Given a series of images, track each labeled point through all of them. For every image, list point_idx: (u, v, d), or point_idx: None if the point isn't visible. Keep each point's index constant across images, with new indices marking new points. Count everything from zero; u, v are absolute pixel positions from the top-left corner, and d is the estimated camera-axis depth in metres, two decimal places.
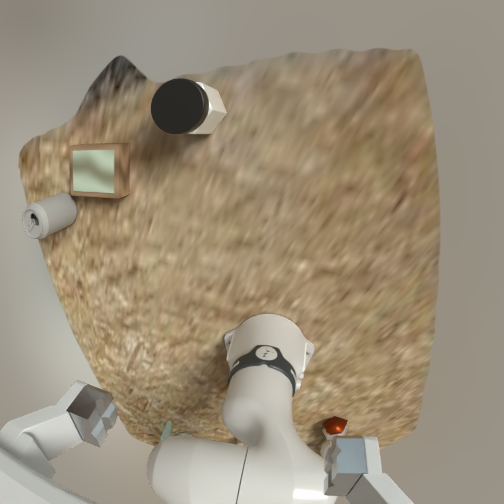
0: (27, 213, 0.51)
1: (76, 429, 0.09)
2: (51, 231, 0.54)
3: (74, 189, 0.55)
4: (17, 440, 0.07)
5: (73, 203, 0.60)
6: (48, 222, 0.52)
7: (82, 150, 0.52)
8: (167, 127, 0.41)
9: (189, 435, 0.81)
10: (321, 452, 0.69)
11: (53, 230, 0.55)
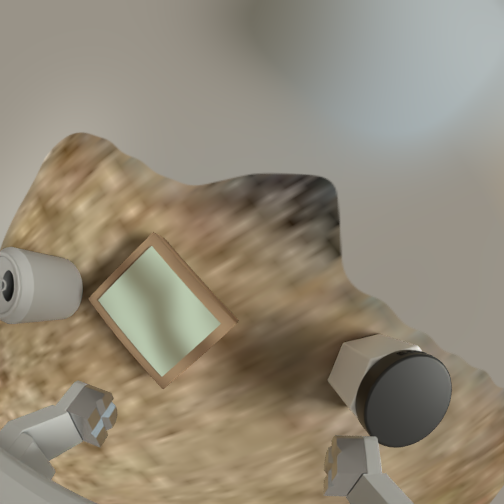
0: (4, 260, 0.23)
1: (76, 430, 0.09)
2: None
3: (101, 300, 0.30)
4: (17, 440, 0.07)
5: (78, 301, 0.33)
6: (25, 314, 0.24)
7: (168, 265, 0.30)
8: (374, 424, 0.20)
9: None
10: None
11: None
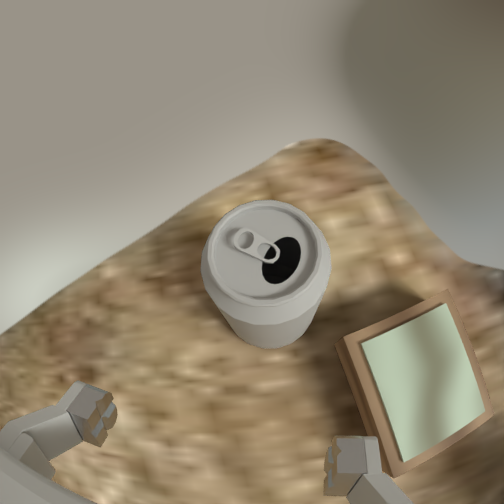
0: (286, 220, 0.18)
1: (76, 430, 0.09)
2: (245, 326, 0.18)
3: (366, 345, 0.21)
4: (17, 440, 0.07)
5: (302, 333, 0.25)
6: (290, 318, 0.17)
7: (457, 331, 0.21)
8: None
9: None
10: None
11: (246, 328, 0.19)
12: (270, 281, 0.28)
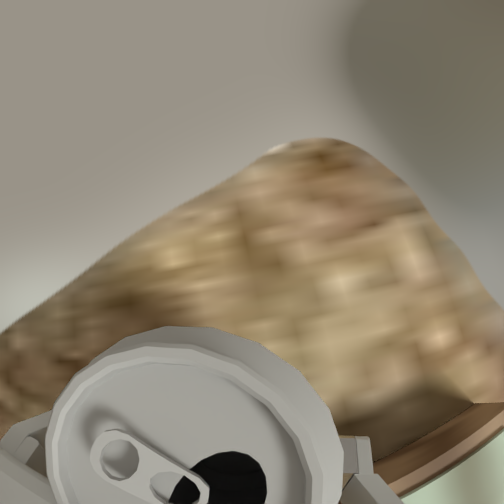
0: (232, 403, 0.06)
1: None
2: None
3: None
4: (22, 443, 0.07)
5: None
6: None
7: None
8: None
9: None
10: None
11: None
12: None
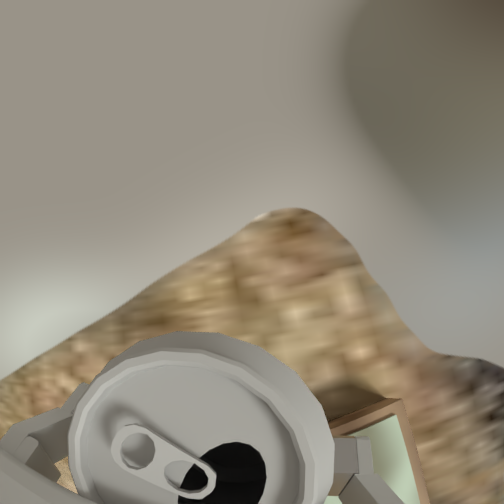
0: (236, 400, 0.07)
1: None
2: None
3: None
4: (22, 443, 0.07)
5: None
6: None
7: (404, 441, 0.20)
8: None
9: None
10: None
11: None
12: None
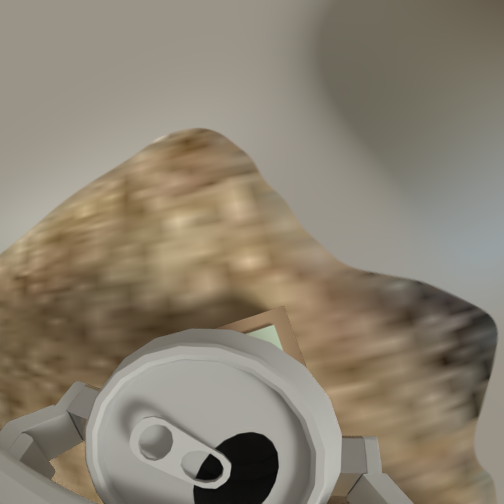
0: (250, 392, 0.07)
1: (77, 430, 0.09)
2: None
3: None
4: (17, 440, 0.07)
5: None
6: None
7: None
8: None
9: None
10: None
11: None
12: None
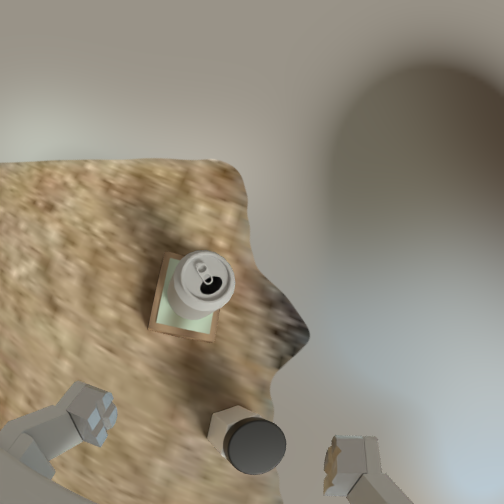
0: (223, 270, 0.38)
1: (76, 429, 0.09)
2: (179, 301, 0.37)
3: (171, 260, 0.48)
4: (17, 440, 0.07)
5: None
6: (200, 310, 0.37)
7: None
8: (236, 439, 0.35)
9: None
10: None
11: (179, 302, 0.38)
12: None
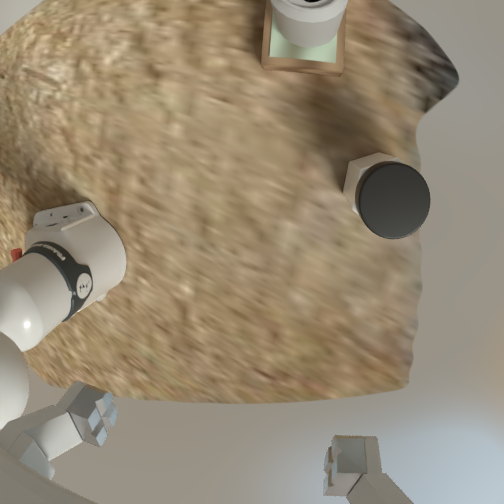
0: None
1: (76, 429, 0.09)
2: (282, 17, 0.24)
3: None
4: (17, 440, 0.07)
5: (320, 45, 0.31)
6: (308, 21, 0.23)
7: None
8: (369, 186, 0.30)
9: None
10: None
11: (283, 20, 0.25)
12: None
